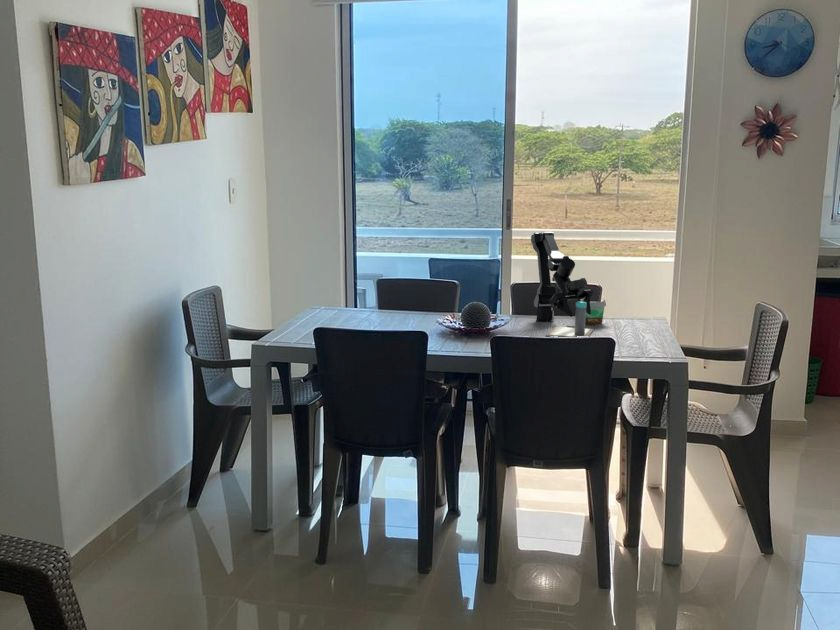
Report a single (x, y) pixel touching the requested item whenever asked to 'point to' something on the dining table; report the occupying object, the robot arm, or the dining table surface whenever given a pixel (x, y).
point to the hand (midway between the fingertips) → (581, 315)
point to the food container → (595, 313)
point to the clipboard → (567, 331)
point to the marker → (580, 318)
